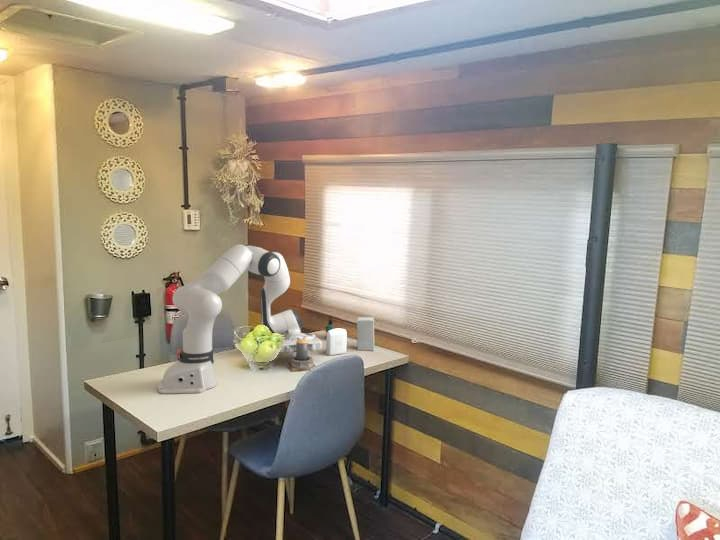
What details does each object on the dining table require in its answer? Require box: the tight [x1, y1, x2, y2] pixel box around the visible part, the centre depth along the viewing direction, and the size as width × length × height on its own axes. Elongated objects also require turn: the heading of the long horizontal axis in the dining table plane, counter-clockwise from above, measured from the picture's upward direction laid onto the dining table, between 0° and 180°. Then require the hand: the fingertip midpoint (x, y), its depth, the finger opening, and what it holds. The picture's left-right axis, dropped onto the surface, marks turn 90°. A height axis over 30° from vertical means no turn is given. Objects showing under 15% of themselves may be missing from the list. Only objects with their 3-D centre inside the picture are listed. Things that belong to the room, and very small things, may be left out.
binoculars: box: [324, 317, 335, 340], centre depth 288 cm, size 9×11×10 cm
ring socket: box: [286, 355, 316, 373], centre depth 240 cm, size 11×11×4 cm
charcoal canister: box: [295, 340, 309, 361], centre depth 240 cm, size 5×5×11 cm
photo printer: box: [325, 327, 348, 356], centre depth 261 cm, size 10×4×12 cm, turn 123°
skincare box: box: [356, 316, 376, 351], centre depth 269 cm, size 8×7×16 cm
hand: (302, 350), depth 239 cm, fingers open, 8 cm apart
